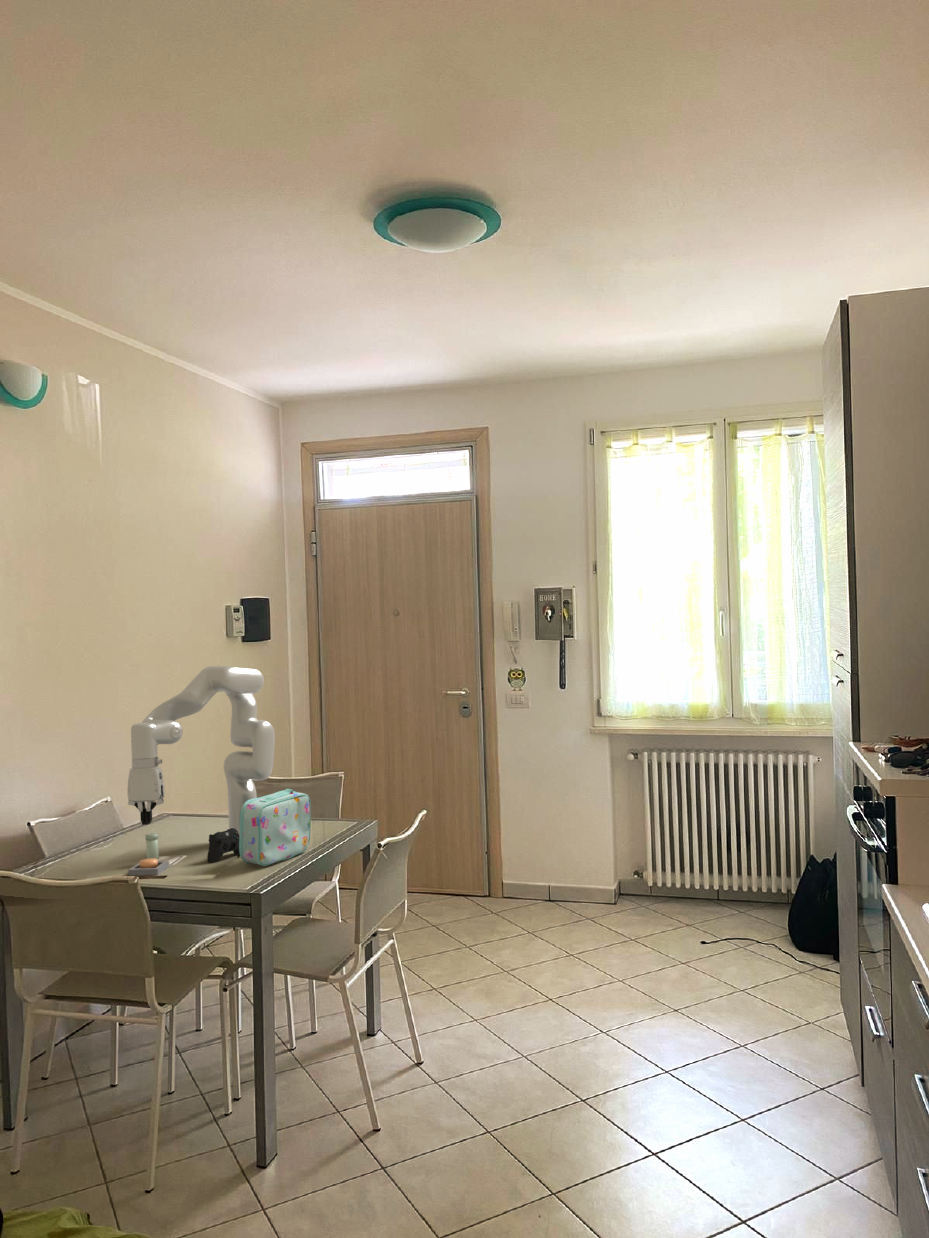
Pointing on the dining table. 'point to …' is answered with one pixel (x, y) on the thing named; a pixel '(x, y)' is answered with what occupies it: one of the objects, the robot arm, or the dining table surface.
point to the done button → (149, 863)
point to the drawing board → (172, 861)
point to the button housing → (149, 869)
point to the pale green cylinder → (152, 845)
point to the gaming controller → (223, 844)
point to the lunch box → (274, 827)
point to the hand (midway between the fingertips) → (146, 823)
